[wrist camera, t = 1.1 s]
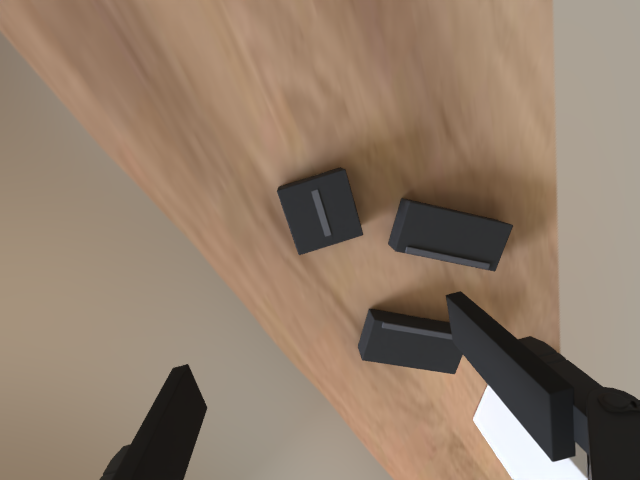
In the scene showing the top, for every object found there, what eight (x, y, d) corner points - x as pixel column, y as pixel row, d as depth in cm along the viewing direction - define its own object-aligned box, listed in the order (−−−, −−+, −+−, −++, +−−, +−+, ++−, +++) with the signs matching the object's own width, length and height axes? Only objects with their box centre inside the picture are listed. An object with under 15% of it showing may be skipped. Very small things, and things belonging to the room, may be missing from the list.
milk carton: (541, 380, 40) (748, 570, 22) (520, 425, 42) (694, 636, 24) (491, 372, 39) (664, 563, 21) (471, 418, 41) (614, 633, 23)
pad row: (401, 197, 32) (410, 201, 30) (498, 220, 34) (514, 225, 31) (357, 346, 37) (362, 361, 34) (445, 360, 38) (456, 375, 36)
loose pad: (278, 187, 31) (276, 190, 28) (340, 167, 31) (345, 168, 28) (298, 246, 33) (298, 255, 30) (357, 227, 33) (363, 235, 30)
